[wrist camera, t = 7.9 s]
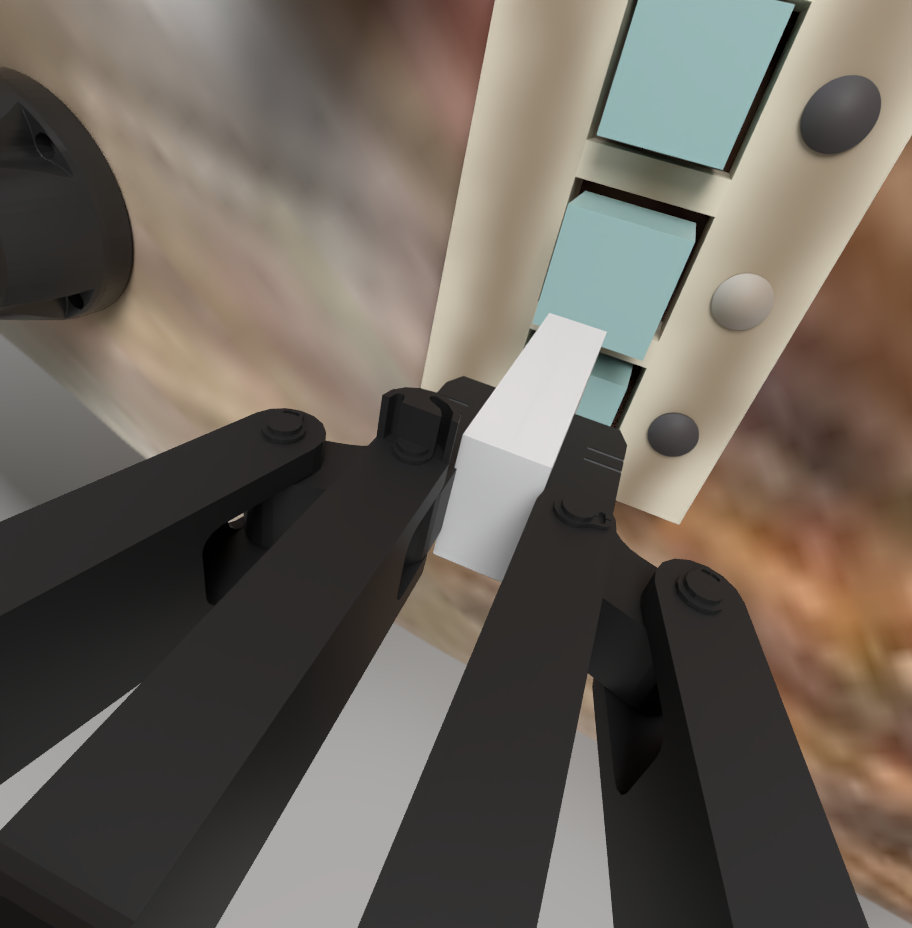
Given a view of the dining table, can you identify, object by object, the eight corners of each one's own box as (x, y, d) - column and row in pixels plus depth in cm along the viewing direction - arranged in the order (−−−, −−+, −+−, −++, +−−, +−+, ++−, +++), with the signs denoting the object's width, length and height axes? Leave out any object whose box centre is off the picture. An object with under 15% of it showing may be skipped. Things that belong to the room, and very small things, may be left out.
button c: (609, 130, 25) (596, 135, 22) (654, -10, 22) (646, -29, 19) (719, 160, 24) (722, 170, 21) (781, 19, 21) (795, 4, 18)
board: (432, 401, 36) (412, 424, 34) (543, -124, 22) (522, -153, 20) (680, 494, 34) (678, 526, 31) (984, -35, 19) (1027, -55, 17)
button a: (522, 403, 33) (503, 436, 30) (547, 326, 30) (529, 353, 27) (602, 432, 32) (591, 469, 29) (635, 356, 29) (627, 387, 26)
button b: (551, 297, 27) (532, 323, 24) (585, 190, 24) (568, 203, 21) (649, 329, 26) (642, 360, 23) (696, 222, 24) (695, 241, 20)
